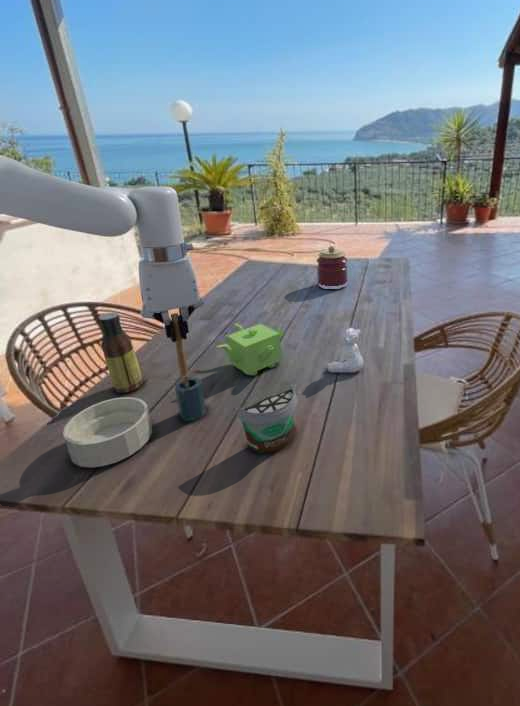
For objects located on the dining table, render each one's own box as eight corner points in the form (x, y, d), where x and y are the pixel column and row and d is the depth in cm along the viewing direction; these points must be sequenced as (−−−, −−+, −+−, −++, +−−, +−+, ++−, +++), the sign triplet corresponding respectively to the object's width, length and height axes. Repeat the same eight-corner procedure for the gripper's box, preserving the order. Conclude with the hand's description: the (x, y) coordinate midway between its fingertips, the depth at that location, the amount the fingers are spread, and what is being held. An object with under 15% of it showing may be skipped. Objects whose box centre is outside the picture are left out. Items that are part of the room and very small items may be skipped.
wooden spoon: (184, 389, 83) (172, 317, 78) (181, 384, 85) (169, 313, 80) (191, 387, 84) (179, 315, 79) (188, 381, 86) (176, 311, 81)
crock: (176, 420, 86) (170, 389, 83) (189, 405, 90) (184, 376, 88) (197, 422, 85) (192, 391, 82) (210, 408, 90) (205, 378, 87)
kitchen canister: (342, 291, 162) (342, 250, 156) (313, 289, 165) (311, 249, 159) (350, 282, 174) (350, 243, 168) (323, 279, 177) (321, 241, 171)
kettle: (221, 381, 100) (215, 342, 96) (235, 354, 113) (230, 318, 110) (280, 379, 101) (276, 340, 97) (286, 352, 114) (284, 317, 110)
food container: (255, 468, 73) (249, 424, 69) (241, 449, 77) (236, 407, 74) (310, 438, 80) (308, 397, 77) (295, 423, 85) (292, 384, 81)
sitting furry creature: (344, 356, 112) (343, 318, 108) (370, 363, 108) (371, 324, 104) (326, 371, 104) (324, 331, 100) (354, 380, 100) (353, 338, 96)
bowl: (52, 465, 74) (43, 439, 72) (109, 416, 87) (103, 394, 85) (119, 474, 71) (111, 448, 69) (167, 423, 85) (162, 400, 83)
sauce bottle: (140, 377, 102) (124, 307, 95) (145, 388, 97) (129, 315, 90) (111, 386, 98) (92, 314, 91) (115, 398, 93) (96, 323, 87)
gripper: (200, 243, 82) (211, 323, 88) (115, 254, 73) (133, 341, 80) (211, 251, 76) (221, 335, 82) (119, 263, 68) (139, 356, 74)
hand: (178, 337), depth 81 cm, fingers closed on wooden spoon, 1 cm apart
